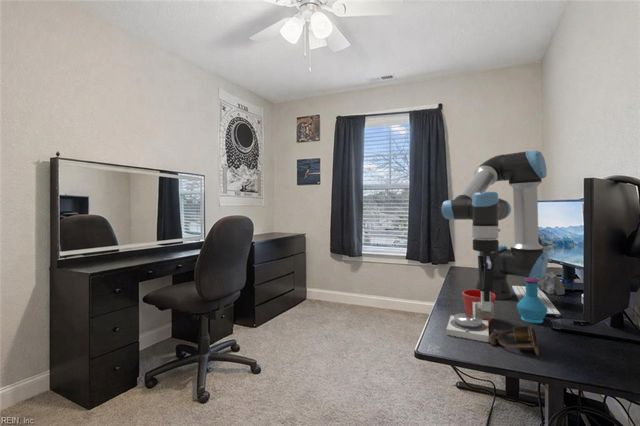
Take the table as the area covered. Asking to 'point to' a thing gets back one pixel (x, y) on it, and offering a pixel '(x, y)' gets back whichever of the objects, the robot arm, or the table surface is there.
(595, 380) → the table surface
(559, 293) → the mineral rock
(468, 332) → the dial housing
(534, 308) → the perfume bottle
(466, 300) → the flower pot
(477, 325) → the dial
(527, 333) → the brown piece
